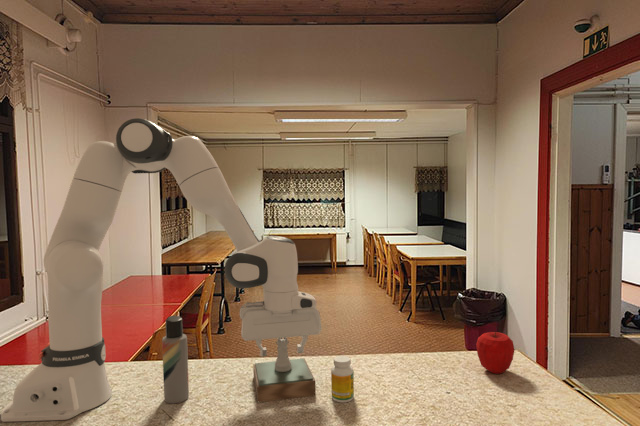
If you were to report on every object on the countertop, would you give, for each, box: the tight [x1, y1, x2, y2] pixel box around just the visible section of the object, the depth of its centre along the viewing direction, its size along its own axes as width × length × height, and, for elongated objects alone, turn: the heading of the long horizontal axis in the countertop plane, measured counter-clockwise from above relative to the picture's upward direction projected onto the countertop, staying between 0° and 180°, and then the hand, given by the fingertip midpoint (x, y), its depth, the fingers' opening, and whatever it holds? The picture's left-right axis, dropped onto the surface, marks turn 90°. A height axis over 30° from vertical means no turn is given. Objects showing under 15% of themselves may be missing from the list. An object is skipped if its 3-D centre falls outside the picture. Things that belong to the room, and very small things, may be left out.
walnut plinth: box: [252, 358, 317, 403], centre depth 110 cm, size 14×14×4 cm
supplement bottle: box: [330, 355, 355, 404], centre depth 103 cm, size 5×5×10 cm
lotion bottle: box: [161, 315, 190, 405], centre depth 104 cm, size 6×6×20 cm
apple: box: [475, 331, 515, 375], centre depth 117 cm, size 10×10×11 cm
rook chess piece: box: [275, 337, 292, 372], centre depth 111 cm, size 4×4×8 cm
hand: (282, 353), depth 110 cm, fingers open, 8 cm apart
